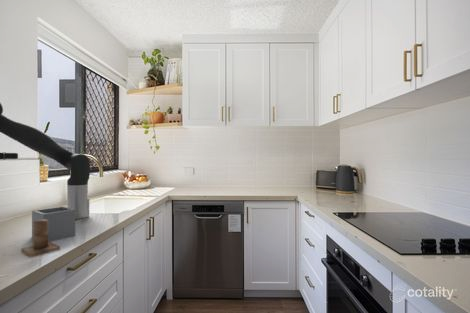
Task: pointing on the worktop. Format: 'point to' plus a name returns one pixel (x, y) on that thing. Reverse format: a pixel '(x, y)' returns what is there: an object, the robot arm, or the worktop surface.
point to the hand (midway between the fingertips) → (11, 156)
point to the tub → (56, 222)
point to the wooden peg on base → (40, 240)
